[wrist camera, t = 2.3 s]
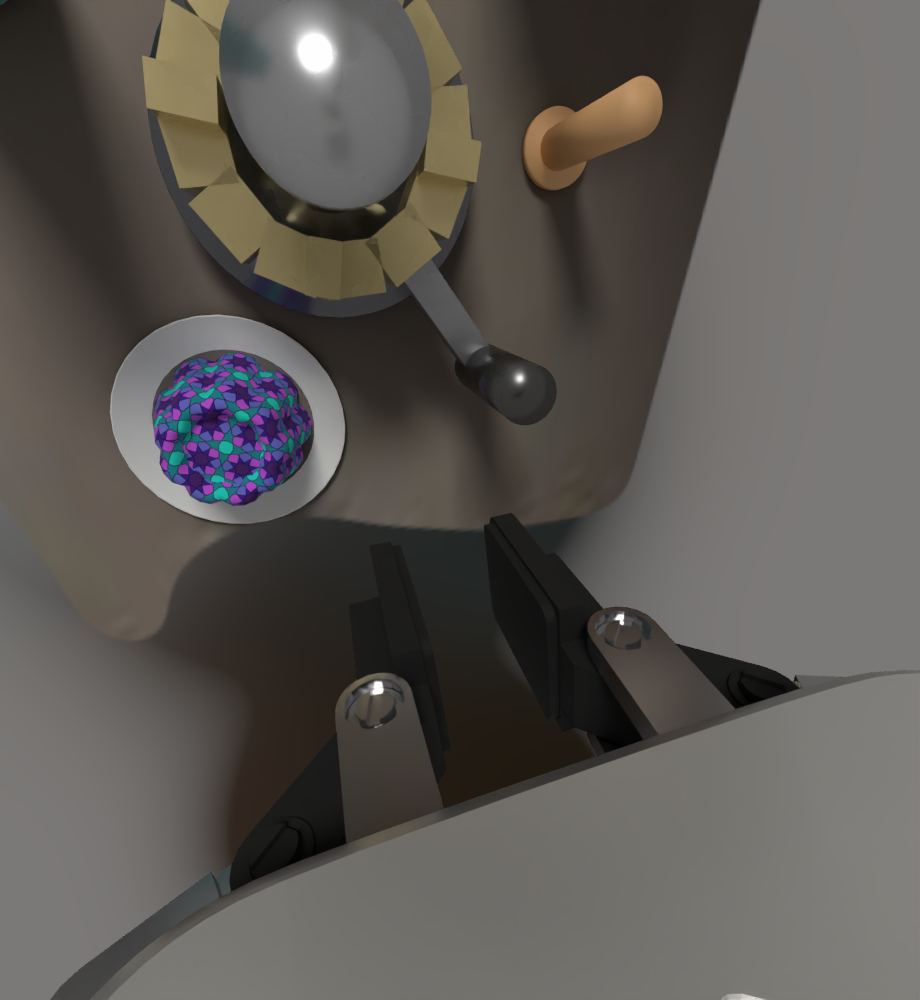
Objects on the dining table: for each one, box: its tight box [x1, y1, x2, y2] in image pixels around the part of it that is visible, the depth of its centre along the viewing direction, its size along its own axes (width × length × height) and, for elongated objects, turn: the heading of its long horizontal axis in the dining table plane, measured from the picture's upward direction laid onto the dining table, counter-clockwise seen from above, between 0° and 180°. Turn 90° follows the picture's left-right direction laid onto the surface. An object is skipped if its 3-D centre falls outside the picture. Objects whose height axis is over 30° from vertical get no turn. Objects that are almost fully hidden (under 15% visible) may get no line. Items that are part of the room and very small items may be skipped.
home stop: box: [522, 76, 663, 191], centre depth 23 cm, size 4×4×8 cm
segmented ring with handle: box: [142, 0, 557, 425], centre depth 20 cm, size 19×12×8 cm, turn 37°
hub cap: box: [148, 0, 474, 317], centre depth 19 cm, size 14×14×11 cm
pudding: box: [110, 315, 345, 524], centre depth 26 cm, size 12×12×5 cm
